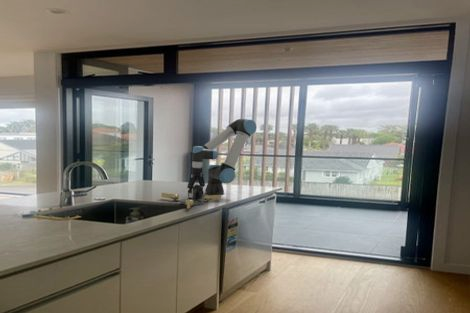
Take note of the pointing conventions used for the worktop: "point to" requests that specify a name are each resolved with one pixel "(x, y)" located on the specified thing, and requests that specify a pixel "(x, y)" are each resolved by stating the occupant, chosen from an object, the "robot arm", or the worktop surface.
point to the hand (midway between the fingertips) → (195, 196)
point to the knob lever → (170, 196)
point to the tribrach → (197, 202)
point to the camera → (197, 192)
